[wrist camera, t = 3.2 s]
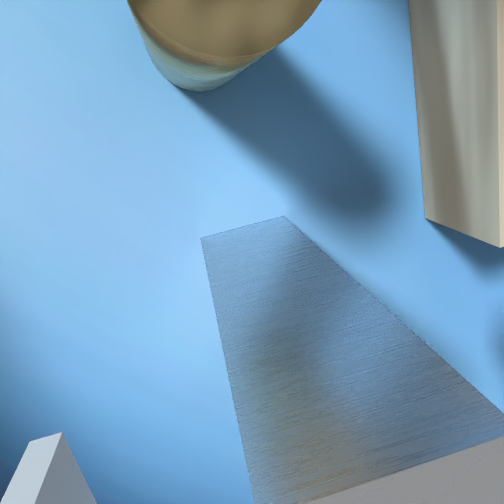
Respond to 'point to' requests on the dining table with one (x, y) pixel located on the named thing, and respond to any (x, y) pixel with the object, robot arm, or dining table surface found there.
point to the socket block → (461, 113)
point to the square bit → (341, 384)
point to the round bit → (214, 35)
